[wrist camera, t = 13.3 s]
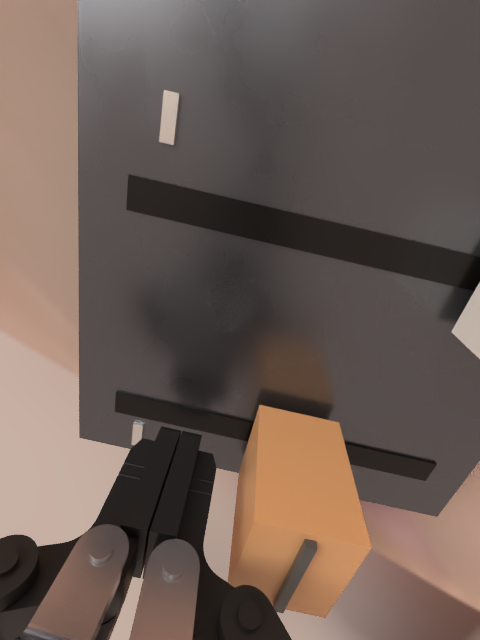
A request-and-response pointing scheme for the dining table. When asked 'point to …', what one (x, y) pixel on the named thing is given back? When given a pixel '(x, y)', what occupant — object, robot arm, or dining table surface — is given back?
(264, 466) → the fader orange
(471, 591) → the dining table surface
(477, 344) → the fader white
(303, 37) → the console
